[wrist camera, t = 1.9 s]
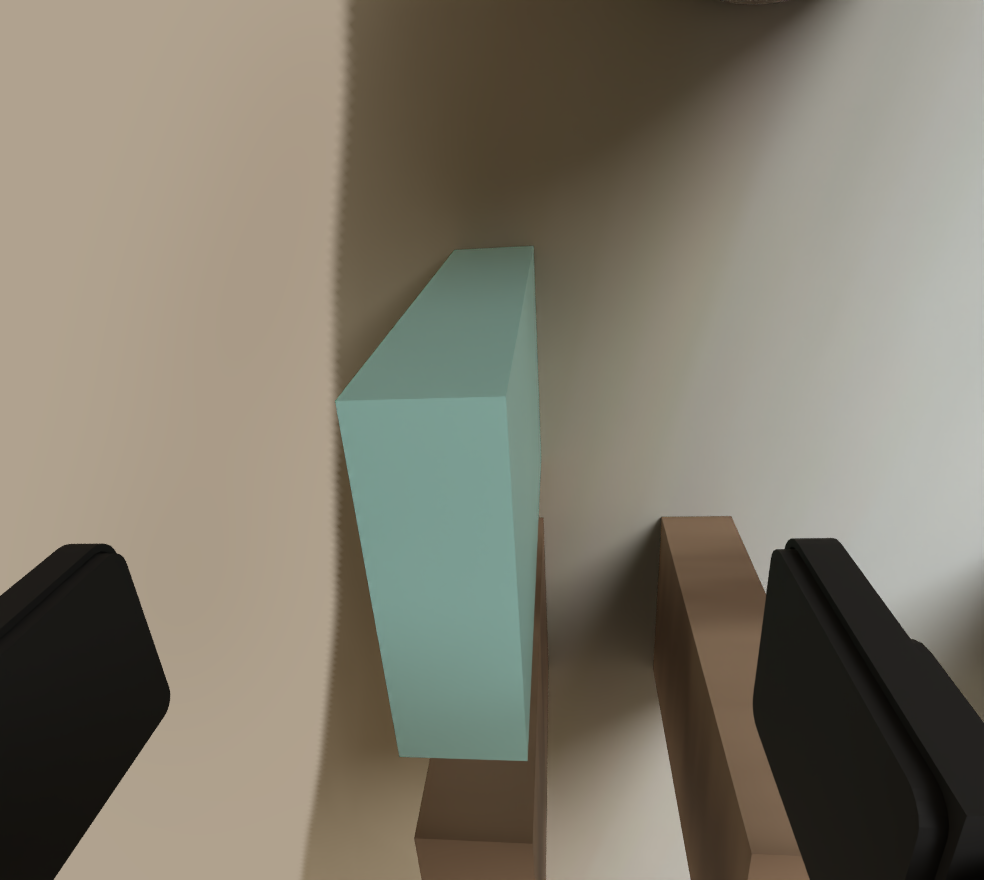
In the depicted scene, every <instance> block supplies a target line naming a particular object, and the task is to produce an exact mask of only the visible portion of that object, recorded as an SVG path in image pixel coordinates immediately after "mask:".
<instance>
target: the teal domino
mask: <svg viewBox="0 0 984 880" xmlns="http://www.w3.org/2000/svg"><path fill="white" fill-rule="evenodd" d="M335 403H336V409H337V414H338V420H339V425H340V431H341V436H342V442H343V448H344V453H345V459H346V464H347V470H348V475H349V481H350V486H351V492H352V497H353V503H354V508H355V514H356V519H357V525H358V531H359V536H360V542H361V547H362V553H363V558H364V564H365V569H366V575H367V580H368V586H369V591H370V597H371V602H372V608H373V613H374V619H375V625H376V630H377V636H378V641H379V647H380V652H381V658H382V663H383V669H384V674H385V680H386V685H387V691H388V696H389V702H390V708H391V713H392V719H393V724H394V730H395V735H396V741H397V746H398V752H399V757H419V758H450V759H480V760H510V761H528V741H529V718H530V696H531V674H532V652H533V630H534V607H535V585H536V563H537V541H538V519H539V496H540V474H541V440H540V412H539V384H538V356H537V328H536V300H535V273H534V246H519V247H500V248H480V249H461V250H454V251H453V252H452V254H451V255H450V256H449V257H448V259H447V260H446V261H445V262H444V264H443V265H442V266H441V267H440V269H439V270H438V271H437V273H436V274H435V275H434V276H433V278H432V279H431V280H430V281H429V283H428V284H427V285H426V286H425V288H424V289H423V290H422V292H421V293H420V294H419V295H418V297H417V298H416V299H415V300H414V302H413V303H412V304H411V305H410V307H409V308H408V309H407V311H406V312H405V313H404V314H403V316H402V317H401V318H400V319H399V321H398V322H397V323H396V324H395V326H394V327H393V328H392V330H391V331H390V332H389V333H388V335H387V336H386V337H385V338H384V340H383V341H382V342H381V343H380V345H379V346H378V347H377V349H376V350H375V351H374V352H373V354H372V355H371V356H370V357H369V359H368V360H367V361H366V362H365V364H364V365H363V366H362V368H361V369H360V370H359V371H358V373H357V374H356V375H355V376H354V378H353V379H352V380H351V381H350V383H349V384H348V385H347V387H346V388H345V389H344V390H343V392H342V393H341V394H340V395H339V397H338V398H337V399H336V400H335Z"/></svg>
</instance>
